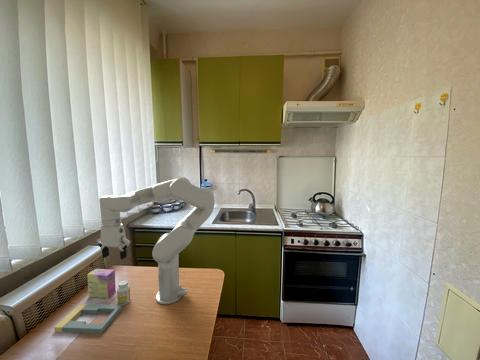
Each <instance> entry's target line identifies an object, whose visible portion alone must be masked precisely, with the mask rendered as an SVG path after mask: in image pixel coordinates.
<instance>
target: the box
mask: <svg viewBox="0 0 480 360" xmlns="http://www.w3.org/2000/svg"><path fill="white" fill-rule="evenodd" d="M87 290H88V297H91V298H100V299H109V298H110V297H111V296H112V295H114V294H115V293H117V287H116V270H115V269H108V268H107V269H106V268H95V269H93V270H92V271H90V272H89V273H87Z"/></svg>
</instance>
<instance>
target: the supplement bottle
mask: <svg viewBox="0 0 480 360" xmlns="http://www.w3.org/2000/svg"><path fill="white" fill-rule="evenodd" d="M117 286H118V287H116V298H117V299H116V300H117V305H122V306H125V305H126V304H129V303H130V301H131V288H130V287H131V286H130V285H129V281H128V280H126V279H125V280H122V281H119V282H118V285H117Z"/></svg>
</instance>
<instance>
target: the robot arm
mask: <svg viewBox="0 0 480 360" xmlns="http://www.w3.org/2000/svg"><path fill="white" fill-rule="evenodd" d="M175 198H176V199H177V200H180V201H181V202H184V203H186V204H188V205H190V206H193V208H192V209H191V210H190V212H189V213H188V214H186V215H185V216H184V217H183V218H182V219H180V220H179V221H178V222H177V223H176V224H174V225H175V226H174V227H173V229H172V230H171V231H170V232H166V233H164V234H162V235H161V236H160V237H159V238H158V240H157V242H156V243H155V245H154V247H153V248H152V253H151V254H152V255H151V256H152V258H153V260H154V262H156V263H157V272H158V273H157V274H158V292H156V295H155V301H156V302H157V303H158V304H159V305H160V304H161V305H170V304H173V303H176V302H178V301H179V300H180V299H181V298H182V296H185V295H186V296H187V295H188V293H189V291H188V290H187V287H182V283H180V267H179V266H180V265H179V263H180V261H179V260H180V259H179V256H180V255H179V254H180V253H181V252H182V251H183V250H185V249H186V248H187V246H188V245H189V244H190V243H191V242H192V240H193V238H194V235H195V233H196V231H198V230H199V228H200V227H202V225H203V224H205V222H207V221H208V220H209V218H210V217H211V215H212V213H213V211H214V208H215V201H216V200H215V195H214V193H213V190H212V189H211V188H209V187H207V186H206V187H198V186H196V185H195V184H193V183H191V180H189V179H188V178H187V177H185V176H184V177H178V178H177V177H176V178H173V179H169V180H167V181H163V182H160V183H156V184H153V185H151V186H147V187H144V188H140V189H137V190H134V191H131V192H128V193H125V194H123V195H120V196H118V195H116V194H108V195H103V196H100V198H99V211H100V220H101V226H100V237H99V238H97V239H96V242H97V244H98V247H99V248H100V250H101V254H102V258H103V259H105V258H107V257H108V256H110V250H109V247H110V248H118V249H119V250H120V251H119V254H120V255H119V257H120V260H124V259H126V258H127V256H128V255H127V253H128V252H127V250H128V248H129V246H130V244H131V240H129V239H128V238H127V236H126V231H125V227H124V224H123V220H122V219H121V213H127V212H130V211H132V210H133V209H135V208H136V207H139V206H142V205H145V204H148V203H153V202H156V203H161V202H165V201H166V202H167V201H168V200H171V199H175Z"/></svg>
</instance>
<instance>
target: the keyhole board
mask: <svg viewBox="0 0 480 360" xmlns="http://www.w3.org/2000/svg"><path fill="white" fill-rule="evenodd" d="M122 306H123V305H118V304H97V303H96V304H93V303H91V304H90V303H88V304H87V303H80V304H78V306H76V308H75V309H73V310H72V311H71V312H69V314H67V316H65V317H64V318H63V319H62V320H61V321H60V322H59V323H57V324H56V325H55V326H54V327H53V329H54V333H71V334H75V333H77V334H78V333H79V334H97V335H98V334H99V335H101V334H103V333H104V332H105V331H106V329H107V328H108V327H109V326H110V325H111V323H112V322H113V321H114V320H115V319H116V318H117V316H118V315H119V314H120V313H121V311H122V310H123V307H122ZM99 313H101V314H102V313H103V314H104V313H105V314H109V315H108V317H106V319H105V320H104V321H103V322H102V323H87V322H86V320H77V319H78V318H79V317H80V316H82V315H98V314H99Z"/></svg>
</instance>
